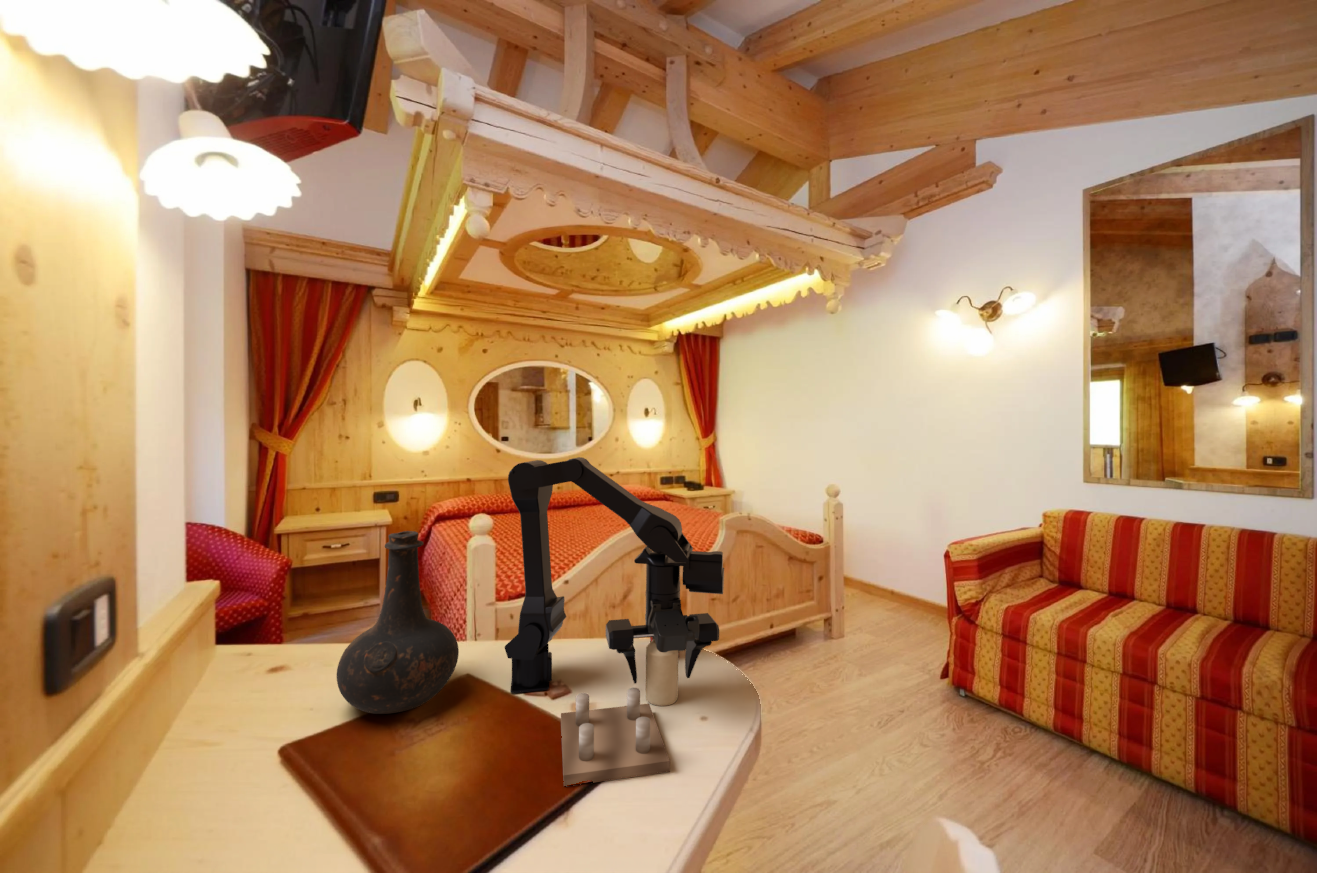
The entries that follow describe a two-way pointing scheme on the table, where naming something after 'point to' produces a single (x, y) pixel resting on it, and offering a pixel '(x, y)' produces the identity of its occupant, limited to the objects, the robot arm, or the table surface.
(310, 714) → the table surface
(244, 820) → the table surface
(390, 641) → the glass bottle
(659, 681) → the candle
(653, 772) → the peg holder
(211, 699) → the table surface
